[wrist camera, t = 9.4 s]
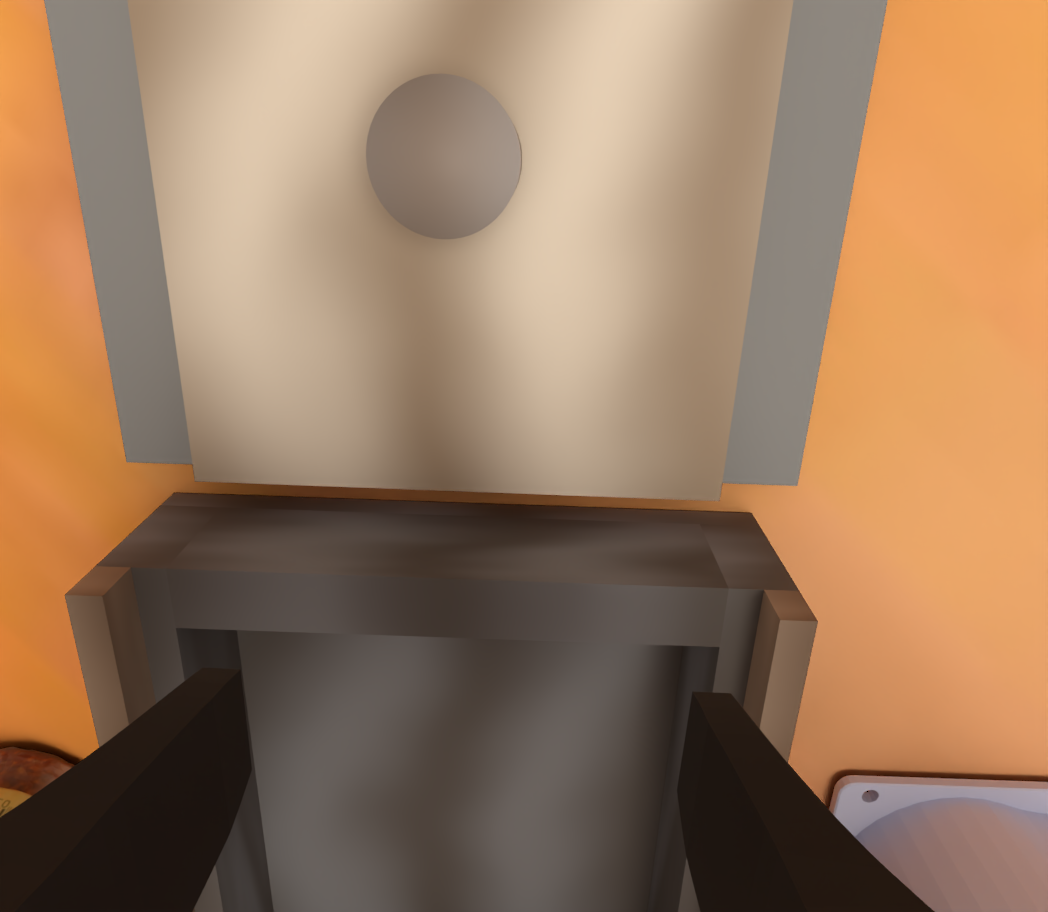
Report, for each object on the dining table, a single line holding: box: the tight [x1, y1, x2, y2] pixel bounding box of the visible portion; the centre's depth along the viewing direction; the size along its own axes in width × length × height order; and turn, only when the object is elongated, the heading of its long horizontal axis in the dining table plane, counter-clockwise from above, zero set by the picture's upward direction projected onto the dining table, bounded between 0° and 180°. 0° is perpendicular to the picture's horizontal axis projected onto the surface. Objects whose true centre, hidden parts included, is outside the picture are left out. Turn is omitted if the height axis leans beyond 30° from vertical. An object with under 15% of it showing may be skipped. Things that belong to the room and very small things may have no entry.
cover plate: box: [127, 0, 793, 501], centre depth 15 cm, size 14×16×4 cm
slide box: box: [65, 493, 818, 912], centre depth 22 cm, size 16×18×5 cm
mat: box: [44, 0, 887, 486], centre depth 17 cm, size 18×17×1 cm
